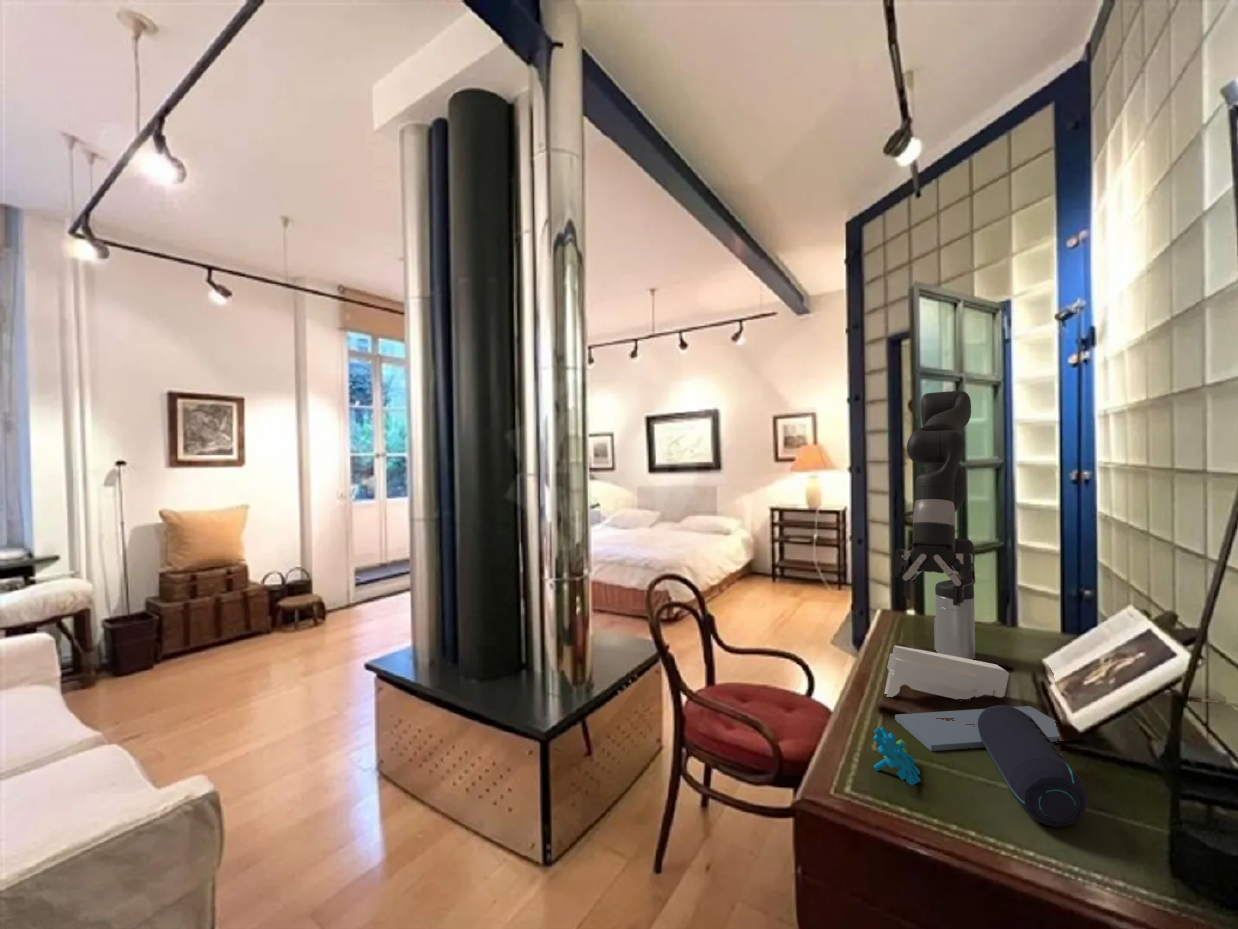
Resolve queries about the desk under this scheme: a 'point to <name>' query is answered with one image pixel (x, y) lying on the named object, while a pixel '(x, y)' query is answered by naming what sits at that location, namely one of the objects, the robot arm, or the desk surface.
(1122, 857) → the desk surface
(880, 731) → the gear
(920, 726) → the plate
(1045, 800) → the portable speaker
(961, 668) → the shelf bracket
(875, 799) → the desk surface
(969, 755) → the desk surface
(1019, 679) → the desk surface
